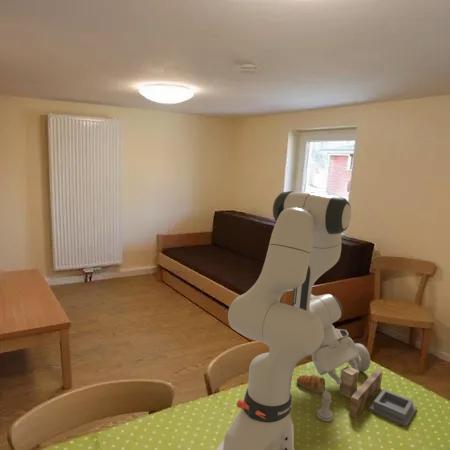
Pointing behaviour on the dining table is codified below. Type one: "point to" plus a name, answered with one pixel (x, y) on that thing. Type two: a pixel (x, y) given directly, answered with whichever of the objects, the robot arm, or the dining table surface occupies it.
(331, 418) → the chess piece
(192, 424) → the dining table surface
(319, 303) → the robot arm
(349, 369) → the block
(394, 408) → the seat block
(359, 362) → the donut
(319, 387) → the pastry
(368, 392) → the door edge
